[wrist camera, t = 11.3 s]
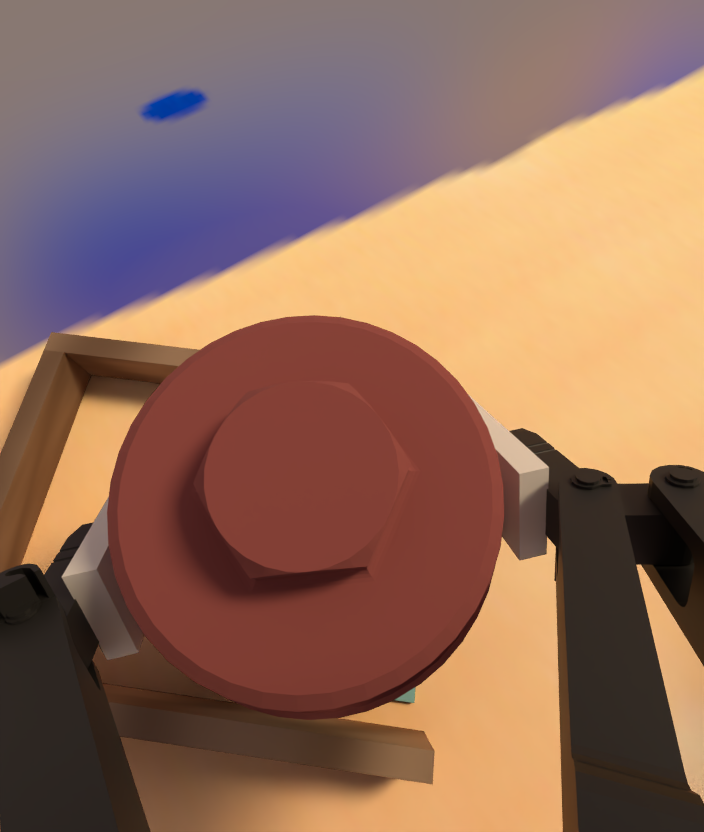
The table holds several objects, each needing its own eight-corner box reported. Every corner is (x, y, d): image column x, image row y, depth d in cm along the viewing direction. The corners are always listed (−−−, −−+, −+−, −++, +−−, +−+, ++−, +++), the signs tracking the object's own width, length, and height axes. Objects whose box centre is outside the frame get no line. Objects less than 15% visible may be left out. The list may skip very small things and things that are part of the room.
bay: (444, 400, 24) (454, 380, 22) (422, 759, 19) (432, 784, 16) (79, 356, 25) (51, 332, 23) (-50, 688, 19) (-104, 702, 17)
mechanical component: (174, 512, 21) (355, 393, 23) (295, 725, 18) (490, 567, 20) (-51, 411, 9) (361, 189, 11) (193, 978, 6) (687, 533, 8)
